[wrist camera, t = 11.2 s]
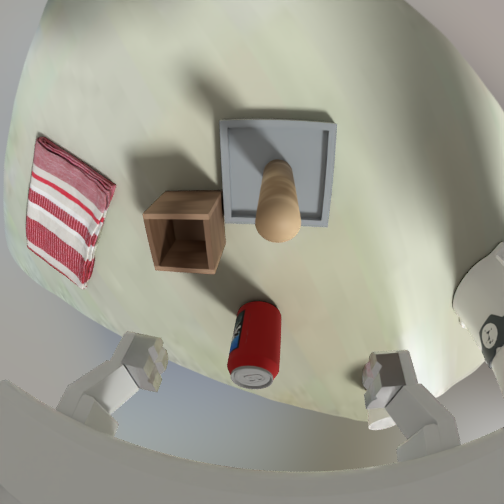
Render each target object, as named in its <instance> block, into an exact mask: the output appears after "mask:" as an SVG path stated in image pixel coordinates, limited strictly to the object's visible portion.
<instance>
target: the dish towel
mask: <svg viewBox="0 0 504 504" xmlns="http://www.w3.org/2000/svg"><path fill="white" fill-rule="evenodd" d="M115 188H116V185H115V184H114V183H112V182H111V181H109V180H108V179H106V178H104V177H103V176H102V175H100V174H98V173H97V172H95V171H94V170H93V169H91V168H90V167H89V166H87V165H86V164H84V163H83V162H81V161H80V160H78V159H77V158H75V157H74V156H72V155H71V154H69V153H67V152H66V151H64V150H63V149H61V148H60V147H58V146H57V145H55V144H54V143H53V142H51V141H50V140H48V139H47V138H45V137H38V138H37V139H36V144H35V151H34V160H33V168H32V175H31V182H30V188H29V194H28V206H27V216H26V236H27V247H28V248H29V249H30V250H31V251H32V252H34V253H35V254H36V255H37V256H39V257H40V258H42V259H43V260H44V261H46V262H47V263H48V264H49V265H50V266H52V267H53V268H54V269H56V270H57V271H59V272H60V273H62V274H63V275H65V276H66V277H67V278H68V279H70V280H71V281H72V282H73V283H75V284H76V285H77V286H78V287H79V288H81V289H85V288H87V282H88V280H89V279H90V277H91V275H92V271H93V267H94V261H95V252H96V248H97V245H98V241H99V238H100V234H101V231H102V226H103V224H104V220H105V217H106V213H107V210H108V207H109V204H110V201H111V199H112V197H113V194H114V191H115Z"/></svg>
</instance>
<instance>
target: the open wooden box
mask: <svg viewBox="0 0 504 504" xmlns="http://www.w3.org/2000/svg"><path fill="white" fill-rule="evenodd" d="M143 219H144V224H145V228H146V233H147V237H148V242H149V246H150V250H151V254H152V258H153V262H154V266H155V270H159V271H173V272H187V273H202V274H215V272H216V270H217V267H218V264H219V261H220V258H221V255H222V252H223V250H224V247H225V244H226V239H225V226H224V211H223V195H222V190H196V191H165V192H164V193H163V194H162V195H161V196H160V197H159V198H158V199H157V200H156V201H155V202H154V203H153V204H152V205H151V206H150V207H149V208H148V209H147V210H146V211H145V212H144V213H143Z"/></svg>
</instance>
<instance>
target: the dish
mask: <svg viewBox="0 0 504 504" xmlns="http://www.w3.org/2000/svg"><path fill="white" fill-rule="evenodd" d="M219 124H220V146H221V166H222V183H223V200H224V215H225V223H236V224H255V218H256V212H257V206H258V200H259V195H260V189H261V183H262V177H263V171H264V168H265V166H266V165H267V163H269V162H270V161H272V160H276V159H280V160H284V161H286V162H287V163H288V164H289V165H290V166H291V168H292V171H293V177H294V182H295V188H296V194H297V199H298V205H299V211H300V218H301V226H312V227H328V219H329V211H330V202H331V193H332V183H333V172H334V161H335V148H336V132H337V124H336V123H334V122H323V121H310V120H292V119H222V120H220V121H219Z"/></svg>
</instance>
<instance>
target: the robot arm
mask: <svg viewBox="0 0 504 504" xmlns="http://www.w3.org/2000/svg"><path fill="white" fill-rule="evenodd" d="M453 309H454V311H455V313H456V314H457V315H458V316H459V319H460V325H461V326H462V327H463V328H466V329H467V330H468V332H469V333H470V335H471V337H472V338H473V340H474V341H475V343H476V345H477V346H478V348H479V349H481V350H482V353H483V355H484V358H485V361H486V363H487V364H488V366H489V368H490V369H493V372H494V374H495V377H496V379H497V382H498V384H499V387H500V390H501V393H502V395H503V398H504V242H501V243H500V244H499V245H498V246H497V247H496V248H495V249H494V250H493V251H492V253H491V254H489V255H488V256H487V257H485V258H483V259H482V260H481V261H479V262H478V263H477V264H476V265H475V266H473V267H472V268H471V269H470V271H469V272H468V273H467V274H466V275H465V277H464V278H463V279H462V281H461V283H460V284H459V286H458V288H457V290H456V293H455V295H454V299H453ZM162 346H163V341H162V339H161V338H159V337H154V336H149V335H144V334H139V333H135V332H130V331H127V332H126V333H125V334H124V335H123V337H122V339H121V341H120V343H119V344H118V346H117V348H116V350H115V352H114V354H113V356H112V358H111V360H110V361H109V360H106V361H105V362H104V363H102V364H100V365H99V366H97V367H96V368H94V369H93V370H91V371H90V372H88V373H87V374H85V375H83V376H82V377H80V378H79V379H77V380H76V381H74V382H73V383H71V384H70V385H68V386H67V388H66V390H65V392H64V394H63V396H62V398H61V400H60V402H59V404H58V406H57V408H56V410H55V409H53V408H52V407H50V406H48V405H46V404H45V403H43V402H41V401H39V400H38V399H36V398H35V397H33V396H31V395H30V394H28V393H27V392H25V391H24V390H22V389H21V388H19V387H17V386H16V385H15V384H13V383H12V382H10V381H8V380H2V381H0V504H504V427H503V428H500V429H498V430H496V431H494V432H492V433H490V434H487V435H485V436H483V437H480V438H478V439H475V440H473V441H470V442H468V443H465V444H463V445H461V444H460V439H459V434H458V429H457V424H456V420H455V417H454V416H453V415H452V414H451V413H450V412H449V411H448V410H447V409H446V408H445V407H444V406H443V405H442V404H441V403H440V402H439V401H438V400H437V399H436V398H435V397H434V396H433V395H432V394H431V393H430V392H429V391H428V390H427V389H426V388H425V387H424V386H423V385H422V384H418V381H417V377H416V374H415V370H414V367H413V363H412V360H411V357H410V353H409V351H408V350H400V351H380V352H372V353H371V354H370V356H369V360H370V361H369V362H368V363H366V364H365V366H364V369H363V374H362V381H363V386H364V387H365V388H366V389H367V391H366V393H365V394H364V397H365V405H366V409H375V408H385V410H386V411H387V412H388V414H389V415H390V416H391V418H392V419H393V421H394V422H395V423H396V425H397V426H398V427H399V429H400V430H401V431H402V433H403V434H404V436H405V437H406V438H407V440H406V441H405V442H404V443H402V444H401V445H400V446H399V447H398V448H397V458H398V462H397V463H393V464H387V465H381V466H374V467H368V468H359V469H350V470H338V471H319V472H283V471H265V470H253V469H243V468H235V467H227V466H221V465H215V464H209V463H204V462H198V461H194V460H189V459H185V458H180V457H176V456H172V455H168V454H164V453H161V452H158V451H154V450H151V449H147V448H144V447H141V446H138V445H135V444H132V443H129V442H126V441H124V440H121V439H118V438H116V437H114V436H115V433H116V431H117V428H118V425H119V424H118V422H117V421H116V420H115V419H114V418H113V417H112V416H111V414H112V413H113V412H114V411H115V410H117V409H118V408H119V407H120V406H121V405H122V404H123V403H124V402H126V401H127V400H128V399H129V398H130V397H131V396H133V395H134V394H135V393H136V392H137V391H138V390H139V388H140V389H144V390H148V391H153V392H158V389H159V387H160V384H161V381H162V378H161V375H160V374H162V373H163V372H164V371H165V370H166V367H167V364H168V353H167V350H166V349H165V348H164V347H162Z"/></svg>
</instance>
